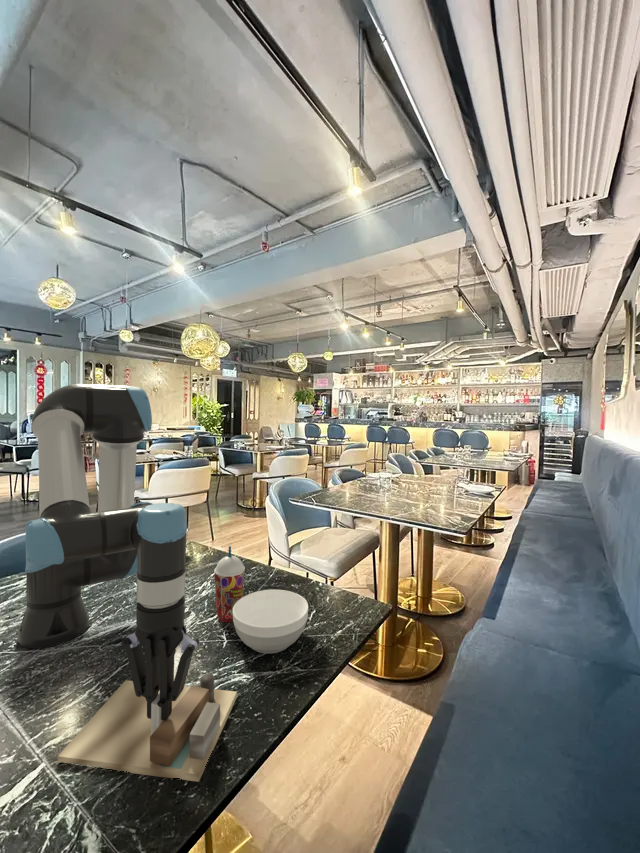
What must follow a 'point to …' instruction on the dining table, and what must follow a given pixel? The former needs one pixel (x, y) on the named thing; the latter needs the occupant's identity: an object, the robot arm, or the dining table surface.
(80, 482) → the robot arm
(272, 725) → the dining table surface
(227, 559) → the smoothie
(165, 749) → the leg
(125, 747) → the board
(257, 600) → the bowl
